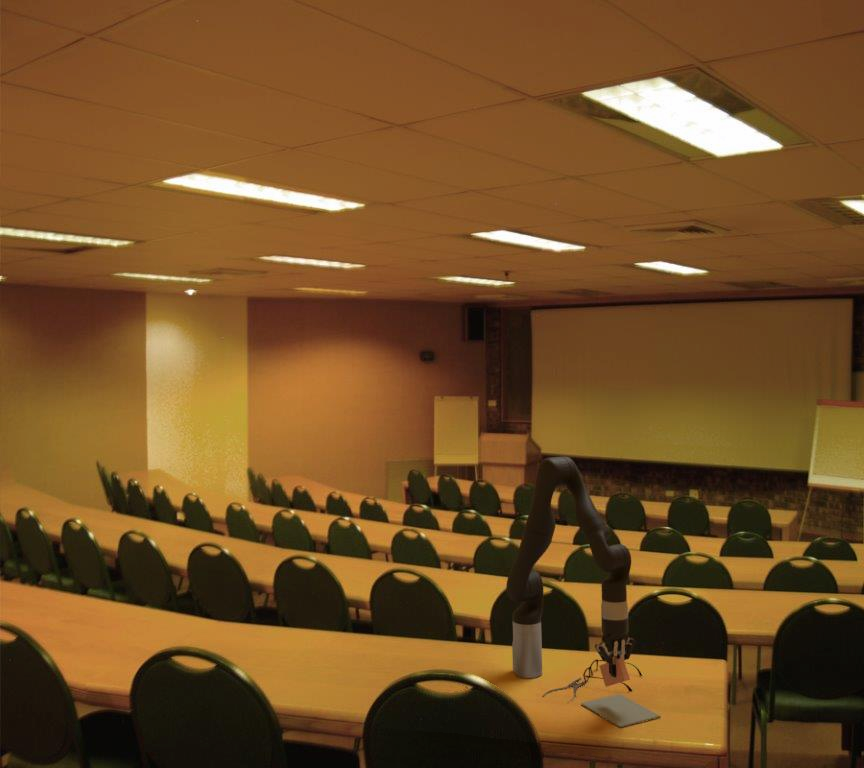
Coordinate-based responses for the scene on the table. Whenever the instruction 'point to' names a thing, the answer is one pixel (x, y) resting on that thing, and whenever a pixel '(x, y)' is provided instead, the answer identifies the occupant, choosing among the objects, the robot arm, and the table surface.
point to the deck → (620, 673)
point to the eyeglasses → (602, 678)
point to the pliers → (569, 687)
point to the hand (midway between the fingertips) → (616, 675)
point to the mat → (620, 710)
